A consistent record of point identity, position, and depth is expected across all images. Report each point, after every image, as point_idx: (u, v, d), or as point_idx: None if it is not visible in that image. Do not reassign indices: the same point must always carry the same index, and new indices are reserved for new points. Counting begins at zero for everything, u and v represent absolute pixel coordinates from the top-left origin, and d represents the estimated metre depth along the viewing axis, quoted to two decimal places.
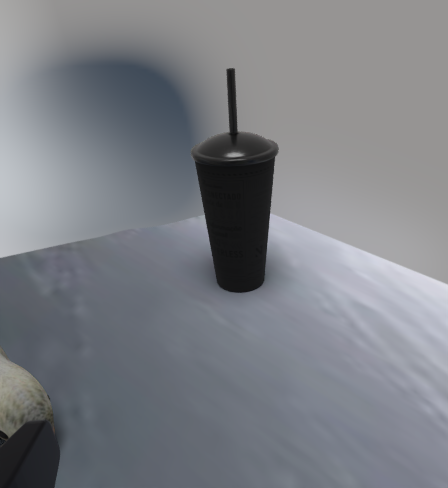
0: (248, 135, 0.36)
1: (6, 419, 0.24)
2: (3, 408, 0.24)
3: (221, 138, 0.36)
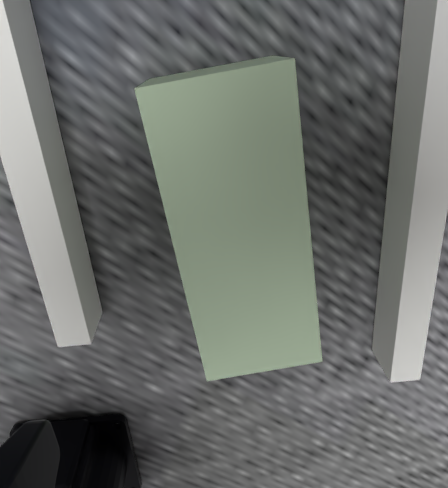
0: None
1: None
2: None
3: None
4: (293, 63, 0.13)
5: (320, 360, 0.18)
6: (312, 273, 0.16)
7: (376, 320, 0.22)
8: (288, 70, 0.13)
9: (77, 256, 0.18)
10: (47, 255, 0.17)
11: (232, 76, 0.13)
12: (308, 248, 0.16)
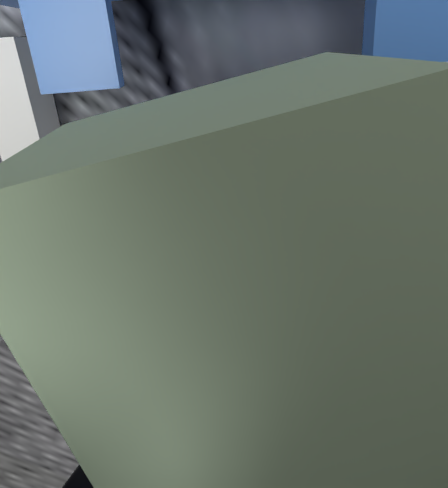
0: None
1: None
2: None
3: None
4: None
5: None
6: None
7: None
8: (440, 107, 0.04)
9: None
10: None
11: (247, 143, 0.04)
12: None
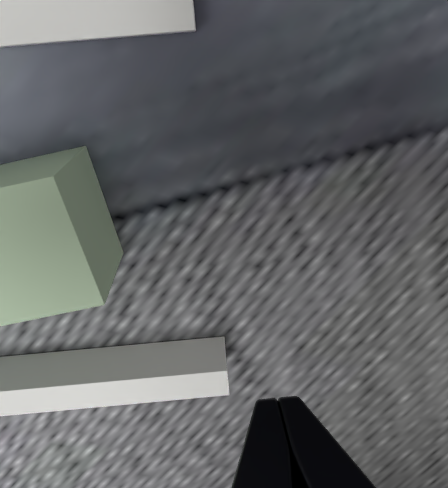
0: None
1: None
2: None
3: None
4: None
5: (51, 178, 0.13)
6: None
7: None
8: None
9: None
10: None
11: None
12: None
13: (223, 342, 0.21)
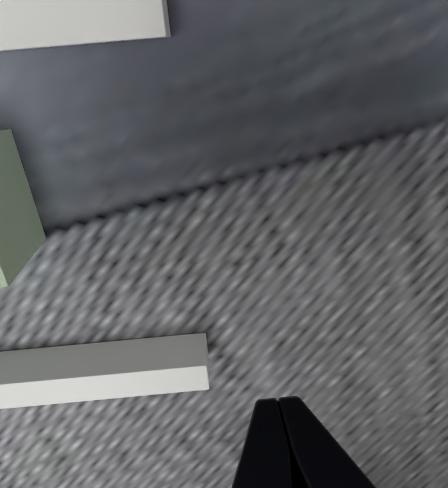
0: None
1: None
2: None
3: None
4: None
5: None
6: None
7: None
8: None
9: None
10: None
11: None
12: None
13: (204, 338, 0.22)
